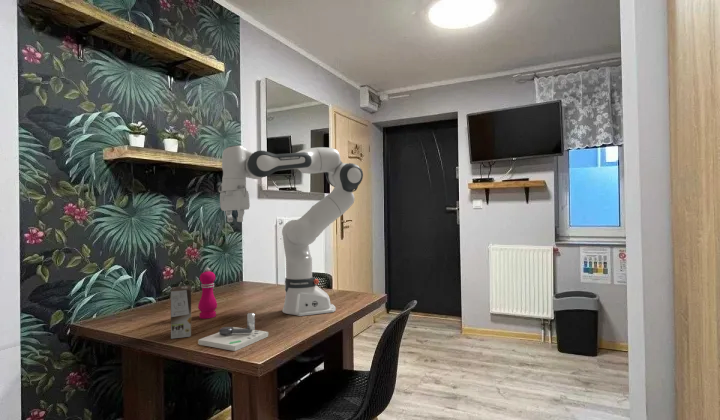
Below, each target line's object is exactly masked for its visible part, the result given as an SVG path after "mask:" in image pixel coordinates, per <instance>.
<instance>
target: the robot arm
mask: <svg viewBox="0 0 720 420" xmlns="http://www.w3.org/2000/svg"><path fill="white" fill-rule="evenodd" d="M341 159H342V158H341V154H340V152H339V151H338V150H337V149H336V148H332V147H325V146H324V147H323V146H321V147H320V146H319V147H318V146H317V147H310V148H305V149H301V150H299V151H297V152H292V153H290V152H289V153H288V152H287V153H272V152H270V151H266V150H256V151H254V152H252V151H250V150H248V149H247V148H245V147H244V146H243V145H240V144H236V145H229V146H227V147H226V148H225V149H223V152H222V157H221V161H222V162H221V169H222V179H221V180H222V181H221V184H220V185H219V187H218V192H219V193H220V194H219V207H220V209H221V211H223V212H224V211H225V215H226V221H227V222H228V223H233V221H234V217H233V215H232V214H233V211H237V217H236V222H238V223H242V222H244V215H245V211H246V210H249V209H250V207H251V206H250V204H251V203H250V194H249V191H248V190H247V178H249V179H252V180H259V179H263V178H266V177H269V176H270V175H271V176H272V174H274V173H275V172H278V171H287V170H298V171H300V172H301V173H302V174H308V175H309V174H311V175H313V174H320V173H324V174H325V177H326V180H327V183H328V184H329V185H330V186H332V187H334V188H333V189H332V190H331V192H330V193H328V194H327V195H326V196H324V197H323V198H322V199H320V200H319V201H317V202H316V203H315V204H313V205H312V206H311V207H310V209H308V210H307V211H306V212H305V213H304V214H303V215H302V216H301V217H300V218H298V219H292V220H289V221H287V222H286V223H285V224H284V225H283V227H282V229H281V235H282V241H283V247H284V248H283V249H284V254H285V278H284V290H285V296H284V297H285V298H284V303H283V308H282V312H283V313H284V314H285V315H286V314H287V315H294V316H299V317H301V316H302V317H304V316H310V315H311V316H312V315H319V314H328V313H334V312H335V311H337V310H336V309H337V307H336V306H335V305H334V304H333V303H331V300H330V296H329V294H328V293H327V291H325V290H323V289H322V288H320V287H319V286H318V284H319V282H320V281H319V279H318V278H316V277H314V276H313V258H312V256H311V252H310V251H311V250H310V246H309V245H311V244H313V243H314V242H315V241H316V239H317V238H318V237H319V236H320V235H321V234H322V233H323V232H324V231H325V229H326V228H328V227H329V226H330V225H331V224H333V223H334V222H335V221H336V220H338V219H339V218H340V217H341V216H343V215H344V214H345V213H346V212H347V211H348V210H349V209H350V207H351V206H352V205H353V204H354V202H355V201H356V200H355V198H356V197H355V194H354V193H353V192H356V191H357V189H358V187H359V186H360V184H361V183H362V181H363V178H364V173H363V169H362V168H361V167H360V166H359V165H358V164H356V163H352V162H349V163H344V162H343V161H342V160H341Z"/></svg>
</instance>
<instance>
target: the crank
mask: <svg viewBox="0 0 720 420" xmlns="http://www.w3.org/2000/svg"><path fill="white" fill-rule="evenodd" d="M255 315H256V314H255V313H254V312H250V313H247V314H246V316H247V318H246V323H247V324H246V326H247V327H246V328H245V327H244V328H245V329H233V327H234V326H224V327H219V331H218V332H219V334H220V335H229V334H233V333H252V330H256V316H255Z"/></svg>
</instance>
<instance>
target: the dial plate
mask: <svg viewBox="0 0 720 420" xmlns="http://www.w3.org/2000/svg"><path fill="white" fill-rule="evenodd" d="M232 327H233V329H245V327H243V328H242V327H236V326H232ZM267 337H269V331H263V330H257V329H254V330H252V333H233V334H229V335H220V334H219V331H218V332H216V333H213V334H210V335H207V336H205V337H201V338H200V339H197V342H198V343H197V344H198V345H200V346H206V347H212V348H217V349H221V350H228V351H233V352H236V351H239V350H240V349H241V350H242V349H243V348H245V347H247V346H250V345H252V344H255V343H256V342H259V341H260V340H264V339H266V338H267Z"/></svg>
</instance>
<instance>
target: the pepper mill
mask: <svg viewBox="0 0 720 420" xmlns="http://www.w3.org/2000/svg"><path fill="white" fill-rule="evenodd" d="M199 281H200V282H201V284H200V288H201V290H202V291H201V297H200V299H199V301H198V306H197V308H198V310H199V311H200V312H199V319H203V320H204V319H205V320H206V319H212V318H215V317H216V316H217V312H216V311H215V310H216V309H217V308H218V302H217V299H216V297H215V294H214V287H215V283H214V282H215V281H216V274H215V273H214V272H213V271H211V268H209V267H206V268H205V271H203V272H201V273H200V275H199Z"/></svg>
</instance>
